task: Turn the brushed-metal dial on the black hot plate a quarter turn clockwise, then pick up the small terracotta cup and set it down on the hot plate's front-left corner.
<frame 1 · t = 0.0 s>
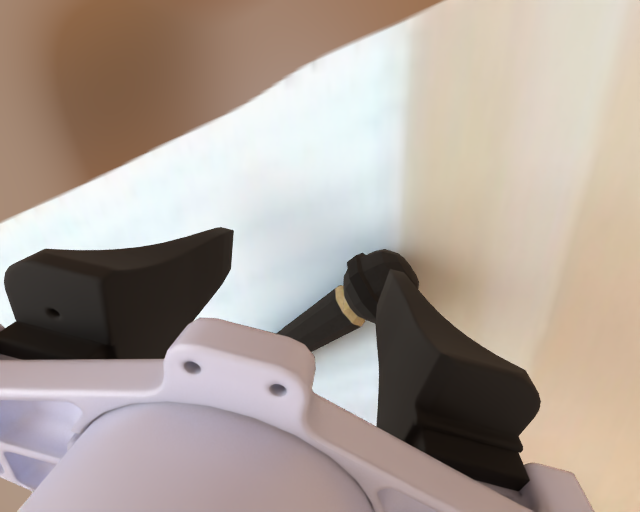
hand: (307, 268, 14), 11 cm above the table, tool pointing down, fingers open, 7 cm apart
microphone: (306, 313, 27), on the table
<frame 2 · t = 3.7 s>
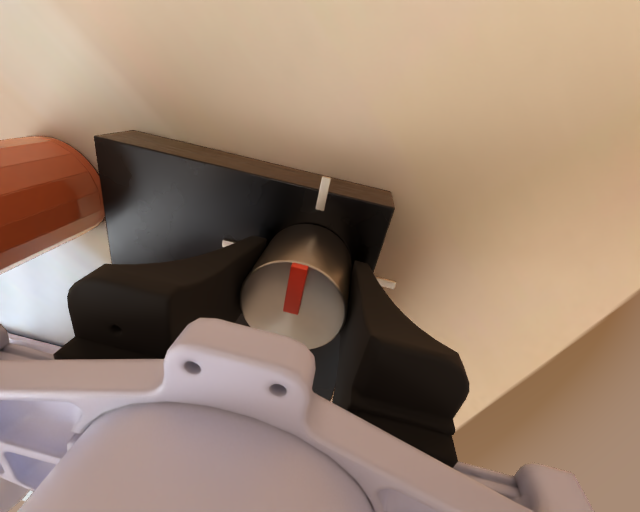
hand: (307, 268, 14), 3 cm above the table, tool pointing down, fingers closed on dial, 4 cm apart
cup: (61, 186, 17), on the table
dial: (300, 285, 13), point 4 cm above the table, hinge at 0.1°, touching gripper
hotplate: (246, 292, 19), on the table
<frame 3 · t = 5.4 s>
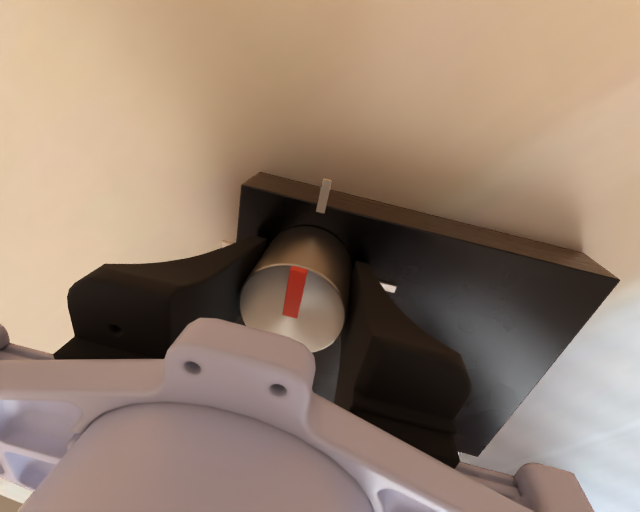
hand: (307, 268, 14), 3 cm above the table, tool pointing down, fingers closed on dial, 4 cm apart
dial: (300, 288, 13), point 4 cm above the table, hinge at -89.1°, touching gripper
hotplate: (379, 315, 18), on the table
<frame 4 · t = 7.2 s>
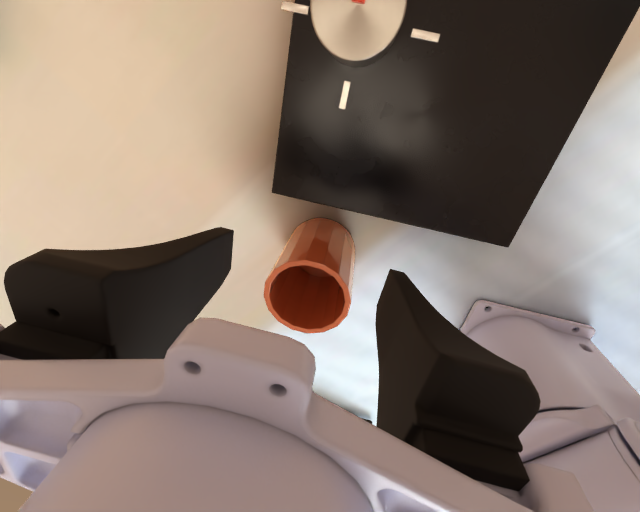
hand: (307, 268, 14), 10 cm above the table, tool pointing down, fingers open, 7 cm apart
cup: (321, 248, 25), on the table
dial: (358, 13, 14), point 4 cm above the table, hinge at -89.7°
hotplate: (416, 112, 20), on the table
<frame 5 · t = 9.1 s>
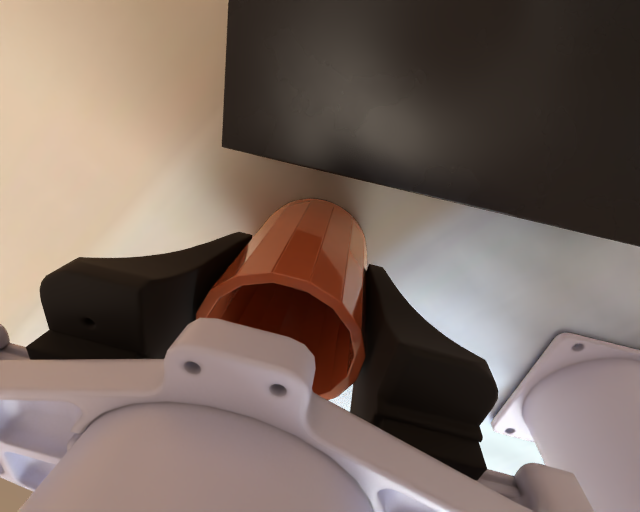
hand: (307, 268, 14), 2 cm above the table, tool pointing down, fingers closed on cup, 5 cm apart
cup: (313, 249, 16), on the table, touching gripper
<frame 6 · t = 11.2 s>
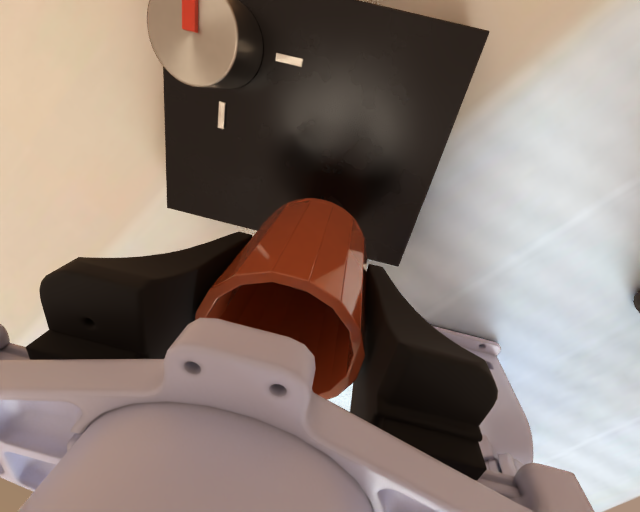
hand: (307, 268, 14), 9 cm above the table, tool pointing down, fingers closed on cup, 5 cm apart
cup: (313, 248, 16), point 7 cm above the table, touching gripper
dial: (209, 39, 14), point 4 cm above the table, hinge at -89.7°
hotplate: (306, 131, 20), on the table
when the fingers open (4 cm above the table, at t = 13.3 s): cup stays where it is, resting on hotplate.
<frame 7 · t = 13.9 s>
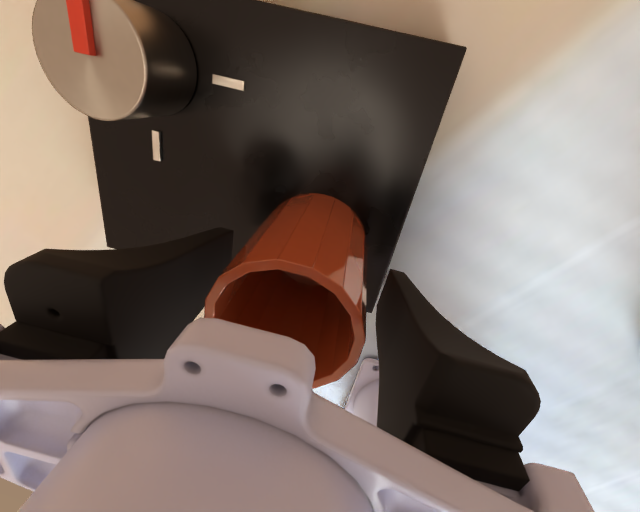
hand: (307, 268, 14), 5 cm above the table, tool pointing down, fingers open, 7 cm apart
cup: (315, 242, 16), point 2 cm above the table, touching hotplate
dial: (122, 60, 12), point 4 cm above the table, hinge at -89.7°
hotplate: (262, 159, 17), on the table
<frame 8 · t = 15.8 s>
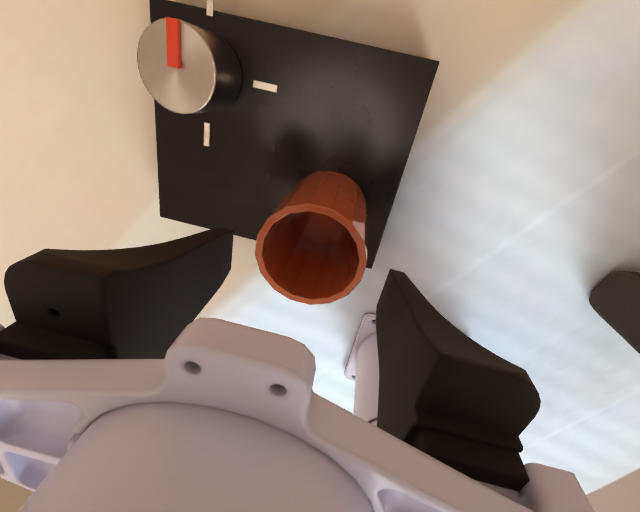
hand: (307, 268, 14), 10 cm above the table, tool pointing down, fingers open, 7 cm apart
cup: (327, 210, 21), point 2 cm above the table, touching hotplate
dial: (192, 71, 16), point 4 cm above the table, hinge at -89.7°
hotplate: (285, 146, 22), on the table
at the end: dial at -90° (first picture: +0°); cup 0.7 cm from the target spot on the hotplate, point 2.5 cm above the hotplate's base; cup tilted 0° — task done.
